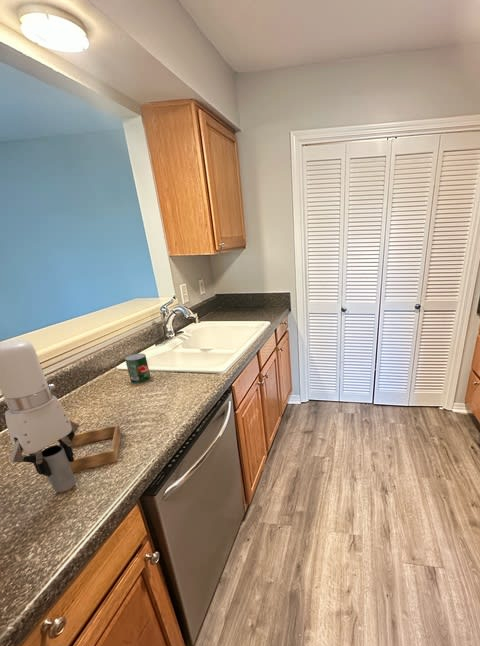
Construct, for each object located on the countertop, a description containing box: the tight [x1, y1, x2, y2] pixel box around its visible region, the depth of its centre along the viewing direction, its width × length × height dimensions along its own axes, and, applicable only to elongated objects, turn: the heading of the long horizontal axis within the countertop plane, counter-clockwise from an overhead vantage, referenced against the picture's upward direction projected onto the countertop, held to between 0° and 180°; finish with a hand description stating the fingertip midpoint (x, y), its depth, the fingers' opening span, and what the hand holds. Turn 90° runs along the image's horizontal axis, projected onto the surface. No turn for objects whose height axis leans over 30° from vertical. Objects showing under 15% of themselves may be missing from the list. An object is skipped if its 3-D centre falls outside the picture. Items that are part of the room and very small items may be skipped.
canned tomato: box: [124, 353, 152, 385], centre depth 136 cm, size 8×8×11 cm
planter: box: [42, 444, 77, 493], centre depth 76 cm, size 4×4×10 cm
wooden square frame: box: [58, 424, 122, 473], centre depth 91 cm, size 15×15×4 cm
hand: (57, 466), depth 76 cm, fingers closed on planter, 4 cm apart
